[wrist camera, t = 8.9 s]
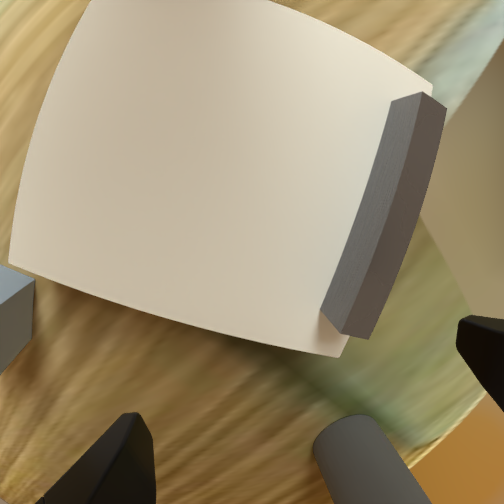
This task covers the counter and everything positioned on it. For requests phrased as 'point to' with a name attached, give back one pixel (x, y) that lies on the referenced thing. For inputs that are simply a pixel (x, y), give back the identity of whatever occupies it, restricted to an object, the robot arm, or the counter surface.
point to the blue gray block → (14, 314)
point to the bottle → (364, 465)
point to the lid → (228, 169)
